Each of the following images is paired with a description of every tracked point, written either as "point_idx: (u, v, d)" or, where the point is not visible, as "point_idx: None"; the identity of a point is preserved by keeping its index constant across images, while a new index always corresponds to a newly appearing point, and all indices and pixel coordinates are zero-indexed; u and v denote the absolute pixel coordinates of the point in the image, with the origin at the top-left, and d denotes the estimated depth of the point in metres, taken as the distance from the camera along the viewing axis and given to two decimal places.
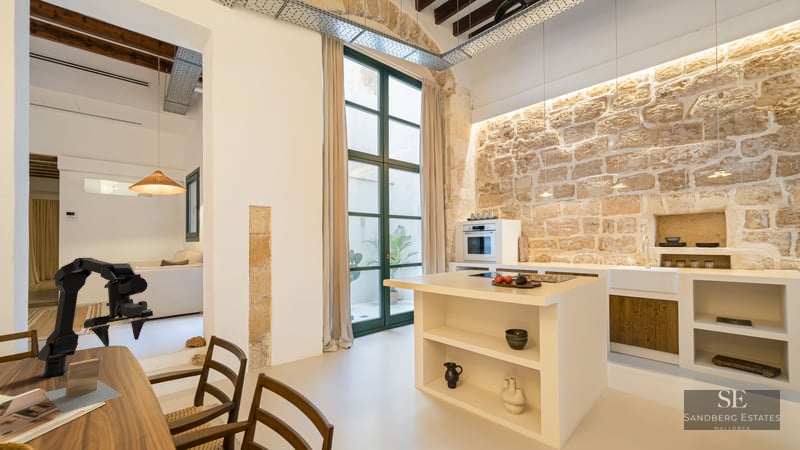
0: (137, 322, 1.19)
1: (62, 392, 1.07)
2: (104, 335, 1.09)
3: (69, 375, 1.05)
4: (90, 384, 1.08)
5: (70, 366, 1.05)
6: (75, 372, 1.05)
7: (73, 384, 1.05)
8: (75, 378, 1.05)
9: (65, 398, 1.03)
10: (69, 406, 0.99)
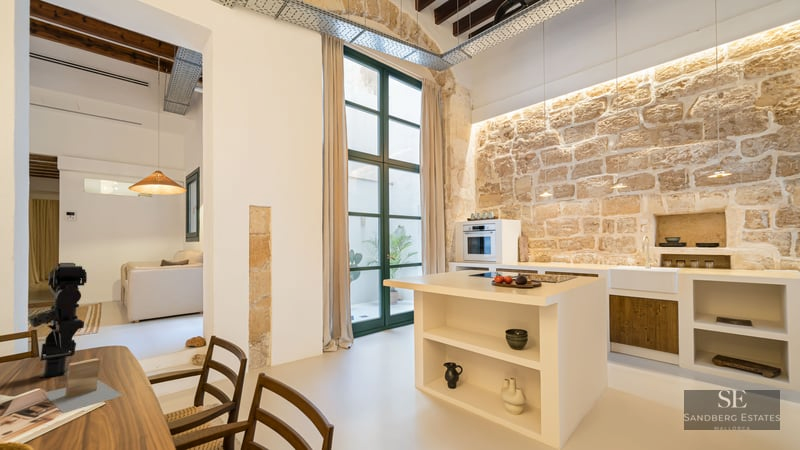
0: None
1: (62, 392, 1.07)
2: None
3: (69, 375, 1.05)
4: (90, 384, 1.08)
5: (70, 366, 1.05)
6: (75, 372, 1.05)
7: (73, 384, 1.05)
8: (75, 378, 1.05)
9: (65, 398, 1.03)
10: (69, 406, 0.99)
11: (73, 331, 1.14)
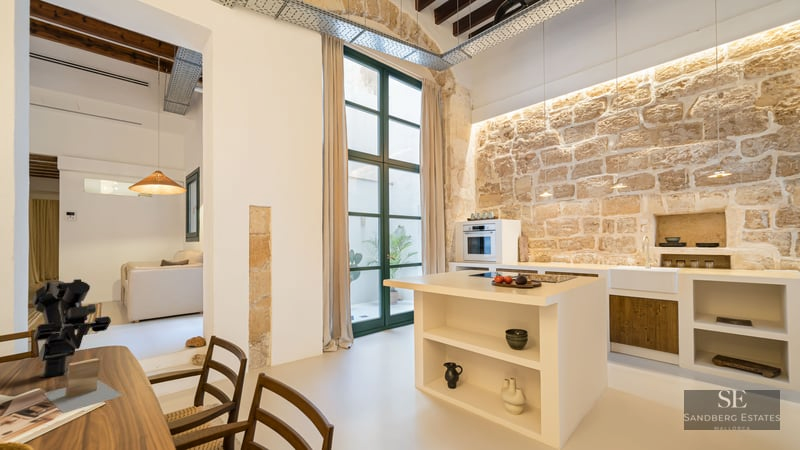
0: (78, 332, 1.15)
1: (62, 392, 1.07)
2: (71, 338, 1.12)
3: (69, 375, 1.05)
4: (90, 384, 1.08)
5: (70, 366, 1.05)
6: (75, 372, 1.05)
7: (73, 384, 1.05)
8: (75, 378, 1.05)
9: (65, 398, 1.03)
10: (69, 406, 0.99)
11: None
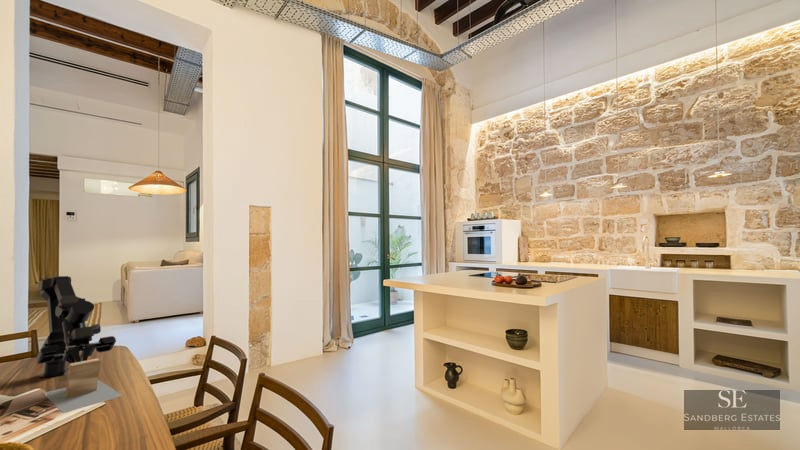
0: (82, 353, 1.12)
1: (62, 392, 1.07)
2: (76, 360, 1.09)
3: (69, 375, 1.04)
4: (90, 384, 1.08)
5: (71, 366, 1.05)
6: (76, 372, 1.05)
7: (73, 384, 1.05)
8: (75, 378, 1.05)
9: (65, 398, 1.03)
10: (69, 406, 0.99)
11: None
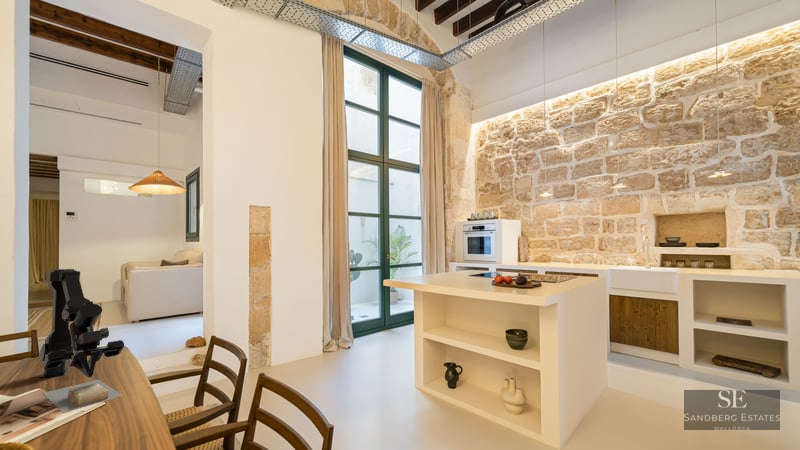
0: (90, 358, 1.08)
1: (62, 392, 1.07)
2: (83, 365, 1.05)
3: (75, 401, 1.00)
4: None
5: (77, 403, 0.99)
6: None
7: None
8: None
9: (65, 398, 1.03)
10: (69, 406, 0.99)
11: None
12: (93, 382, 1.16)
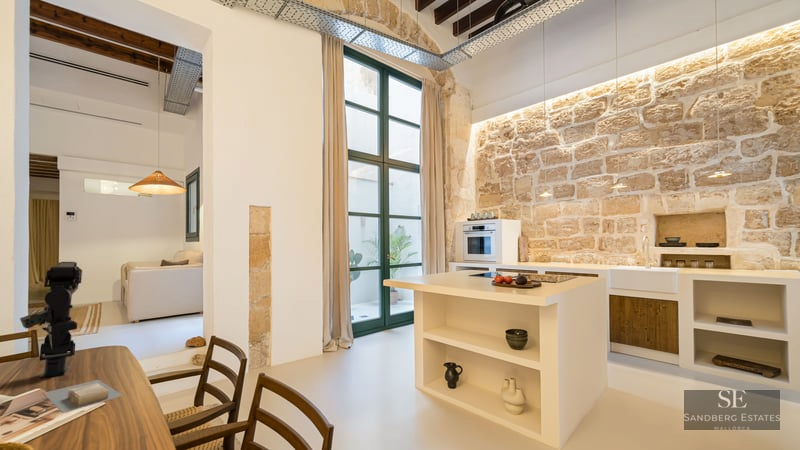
0: None
1: (62, 392, 1.07)
2: None
3: (75, 401, 1.00)
4: None
5: (77, 403, 0.99)
6: None
7: None
8: None
9: (65, 398, 1.03)
10: (69, 406, 0.99)
11: (64, 332, 1.13)
12: (93, 382, 1.16)
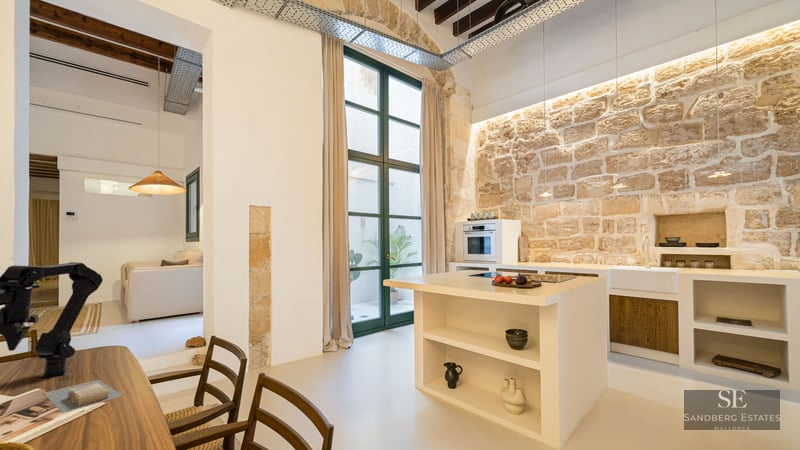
0: None
1: (62, 392, 1.07)
2: None
3: (75, 401, 1.00)
4: None
5: (77, 403, 0.99)
6: None
7: None
8: None
9: (65, 398, 1.03)
10: (69, 406, 0.99)
11: (18, 334, 1.09)
12: (93, 382, 1.16)
